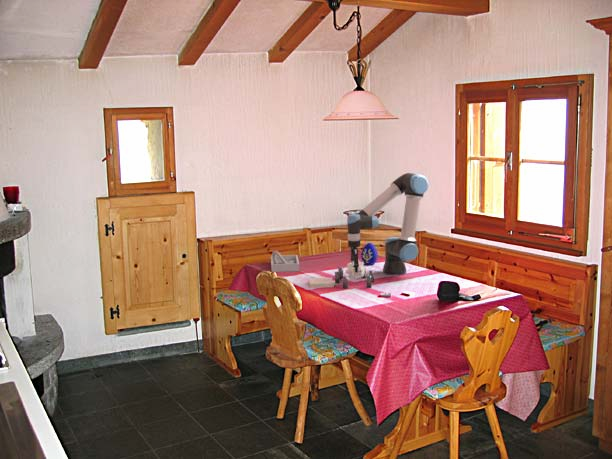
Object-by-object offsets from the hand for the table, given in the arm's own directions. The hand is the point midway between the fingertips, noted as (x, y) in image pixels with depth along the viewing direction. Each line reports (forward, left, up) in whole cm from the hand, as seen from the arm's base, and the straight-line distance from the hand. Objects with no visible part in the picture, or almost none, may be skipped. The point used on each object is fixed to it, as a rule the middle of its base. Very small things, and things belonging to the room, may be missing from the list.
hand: (355, 275), depth 422 cm
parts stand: (+21, +2, -5) cm, 22 cm away
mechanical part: (0, 0, -3) cm, 3 cm away
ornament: (-17, -51, -5) cm, 54 cm away
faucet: (+44, -51, -5) cm, 67 cm away
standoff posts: (0, 0, -5) cm, 5 cm away
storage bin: (+41, -52, -5) cm, 67 cm away
